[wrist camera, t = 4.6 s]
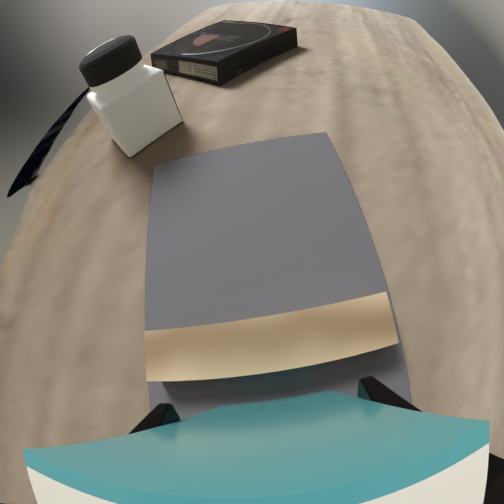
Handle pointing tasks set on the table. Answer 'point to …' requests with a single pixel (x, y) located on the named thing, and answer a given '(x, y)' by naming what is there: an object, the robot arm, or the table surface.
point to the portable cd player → (224, 50)
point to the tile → (276, 458)
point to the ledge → (270, 341)
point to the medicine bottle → (129, 94)
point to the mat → (260, 261)
